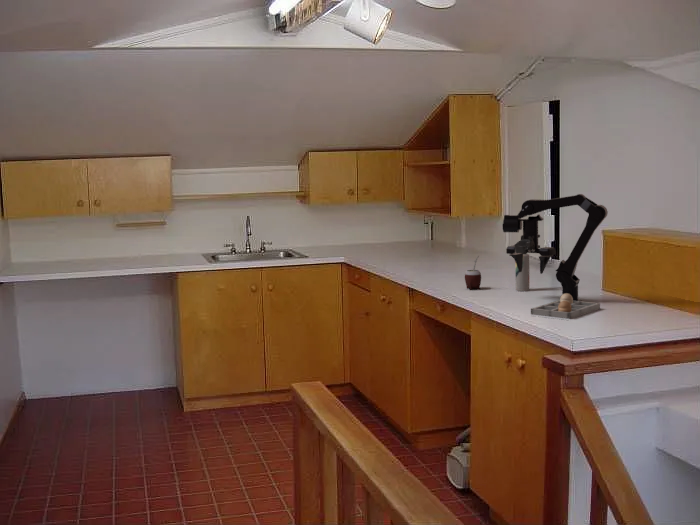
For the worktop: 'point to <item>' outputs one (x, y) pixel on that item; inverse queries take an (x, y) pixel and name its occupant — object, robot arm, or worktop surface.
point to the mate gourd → (473, 278)
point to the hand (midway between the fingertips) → (530, 272)
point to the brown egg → (564, 306)
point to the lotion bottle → (523, 275)
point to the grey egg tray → (576, 310)
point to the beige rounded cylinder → (566, 298)
